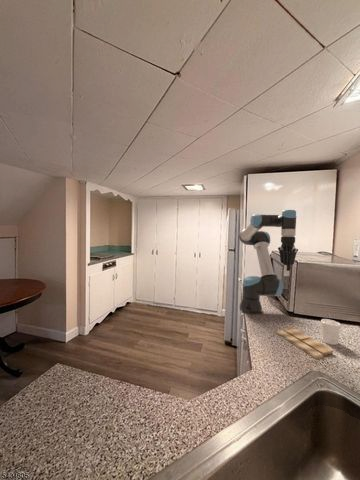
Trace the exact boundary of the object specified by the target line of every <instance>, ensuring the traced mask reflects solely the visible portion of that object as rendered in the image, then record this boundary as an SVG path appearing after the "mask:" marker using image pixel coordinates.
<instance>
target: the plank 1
mask: <svg viewBox="0 0 360 480" xmlns="http://www.w3.org/2000/svg"><path fill="white" fill-rule="evenodd" d="M283 331H285V332H286V333H288V334H290V335H291V336H293V337H295V338H296V339H298V340H300V341H301V342H302V341H303V340H306V339H309V338H311V336H309V335H307V334H305V333H304V332H301V331H299V330H298V329H296V328H294V327H293V326H292V327H288V328H284V329H283Z"/></svg>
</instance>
